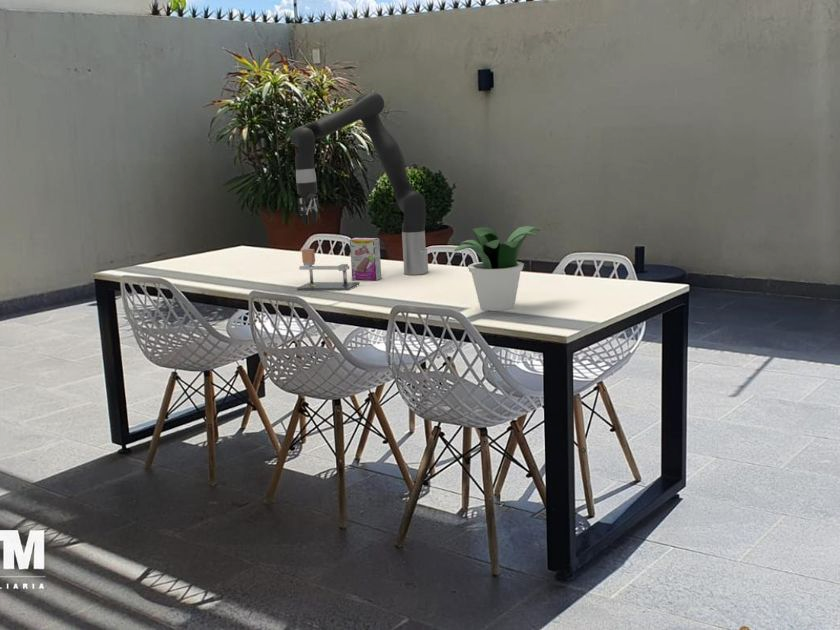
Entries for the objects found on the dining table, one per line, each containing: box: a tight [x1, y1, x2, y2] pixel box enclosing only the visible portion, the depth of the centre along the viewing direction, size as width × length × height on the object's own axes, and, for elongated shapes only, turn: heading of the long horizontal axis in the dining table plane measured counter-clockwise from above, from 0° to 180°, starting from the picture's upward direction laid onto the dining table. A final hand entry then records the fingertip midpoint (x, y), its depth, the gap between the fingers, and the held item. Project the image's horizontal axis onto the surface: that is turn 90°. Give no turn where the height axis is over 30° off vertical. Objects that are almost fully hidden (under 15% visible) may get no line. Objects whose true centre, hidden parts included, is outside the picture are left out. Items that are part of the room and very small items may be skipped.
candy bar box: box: [349, 237, 382, 281], centre depth 390 cm, size 11×5×16 cm, turn 65°
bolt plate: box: [296, 263, 361, 291], centre depth 377 cm, size 21×12×9 cm, turn 73°
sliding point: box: [301, 248, 316, 284], centre depth 377 cm, size 4×4×13 cm
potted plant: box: [453, 225, 541, 312], centre depth 323 cm, size 32×35×26 cm
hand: (310, 223), depth 375 cm, fingers open, 8 cm apart
